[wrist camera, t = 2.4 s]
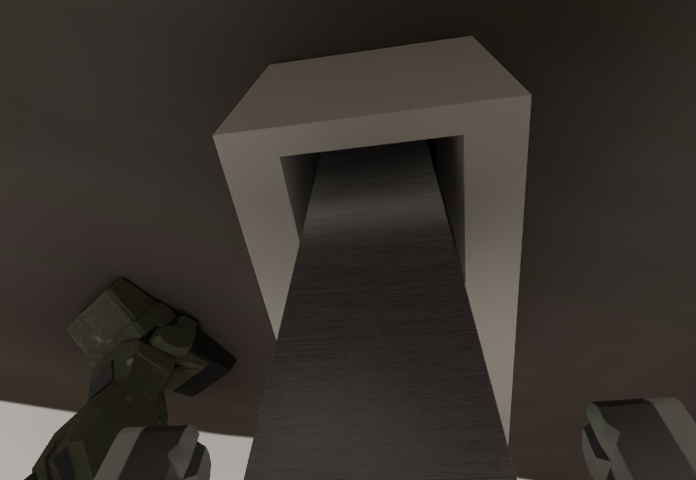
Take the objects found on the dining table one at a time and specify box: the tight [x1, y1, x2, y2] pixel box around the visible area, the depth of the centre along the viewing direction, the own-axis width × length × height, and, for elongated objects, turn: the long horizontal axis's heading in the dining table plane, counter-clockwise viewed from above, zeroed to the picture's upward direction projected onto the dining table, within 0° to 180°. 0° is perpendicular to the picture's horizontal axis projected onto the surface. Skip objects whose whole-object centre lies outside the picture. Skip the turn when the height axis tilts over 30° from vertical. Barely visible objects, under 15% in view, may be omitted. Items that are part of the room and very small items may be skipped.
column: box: [244, 139, 517, 480], centre depth 16 cm, size 4×4×22 cm
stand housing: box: [213, 36, 532, 445], centre depth 24 cm, size 20×10×11 cm, turn 8°
